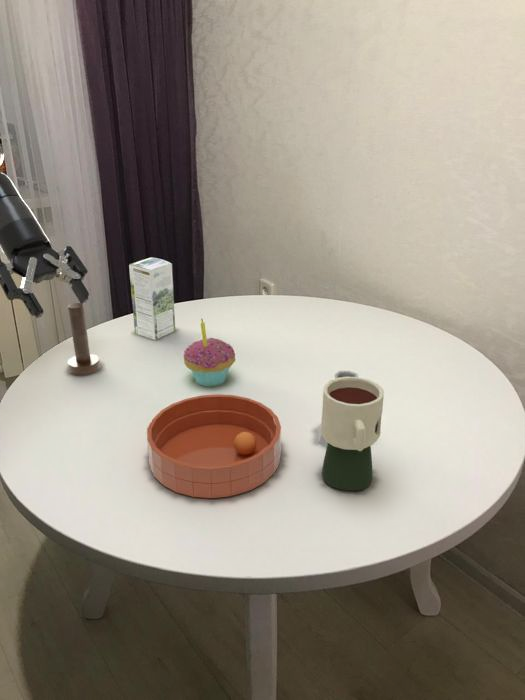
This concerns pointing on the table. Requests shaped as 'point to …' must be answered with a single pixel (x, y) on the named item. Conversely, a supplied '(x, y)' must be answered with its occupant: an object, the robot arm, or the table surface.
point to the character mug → (350, 430)
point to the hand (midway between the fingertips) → (63, 308)
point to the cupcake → (209, 359)
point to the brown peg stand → (81, 344)
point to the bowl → (213, 445)
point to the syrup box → (152, 297)
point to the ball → (245, 443)
